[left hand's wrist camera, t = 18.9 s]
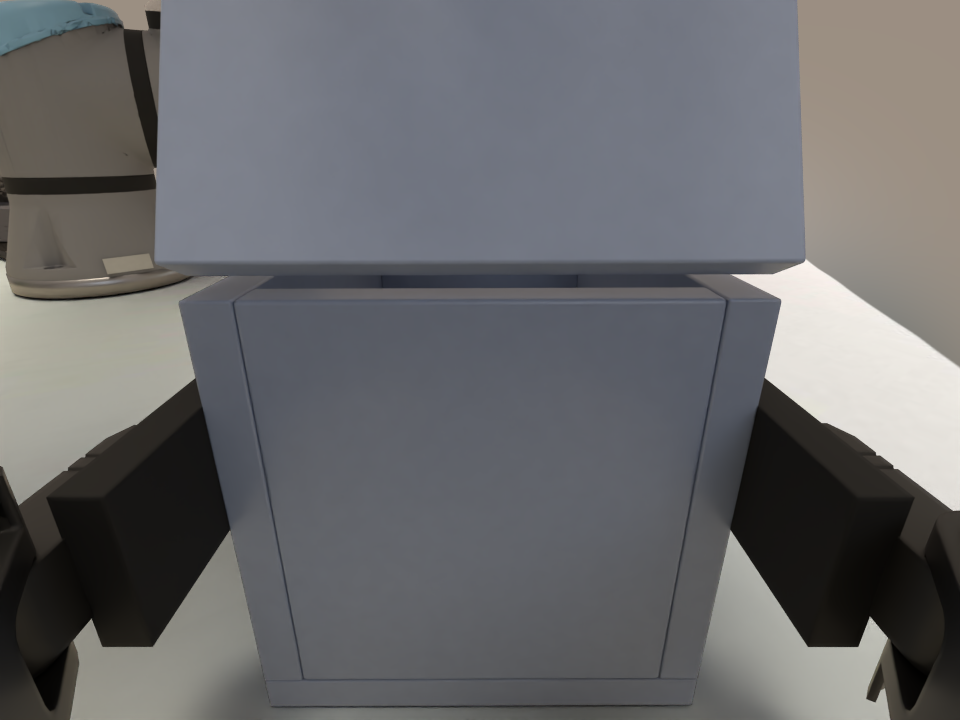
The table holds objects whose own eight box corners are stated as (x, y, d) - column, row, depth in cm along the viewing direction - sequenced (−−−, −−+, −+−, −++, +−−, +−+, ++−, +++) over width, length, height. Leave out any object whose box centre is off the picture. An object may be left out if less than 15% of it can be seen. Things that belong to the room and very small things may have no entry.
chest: (377, 421, 25) (358, 210, 21) (582, 420, 25) (599, 209, 21) (269, 707, 12) (176, 301, 8) (692, 705, 12) (784, 299, 8)
